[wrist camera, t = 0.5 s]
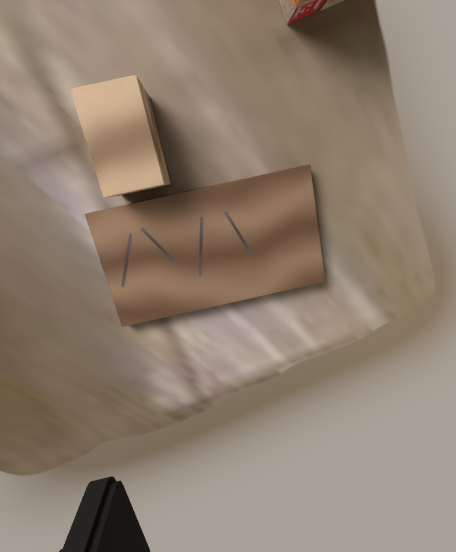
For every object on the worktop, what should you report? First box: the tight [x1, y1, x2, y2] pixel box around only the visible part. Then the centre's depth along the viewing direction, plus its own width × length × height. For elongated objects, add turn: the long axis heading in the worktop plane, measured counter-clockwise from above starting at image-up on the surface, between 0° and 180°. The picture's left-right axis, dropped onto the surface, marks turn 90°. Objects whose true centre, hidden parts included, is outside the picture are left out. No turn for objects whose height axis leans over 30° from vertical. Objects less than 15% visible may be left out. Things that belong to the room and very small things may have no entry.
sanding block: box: [70, 75, 171, 197], centre depth 28 cm, size 8×5×6 cm, turn 12°
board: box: [85, 165, 325, 327], centre depth 33 cm, size 12×22×2 cm, turn 102°
